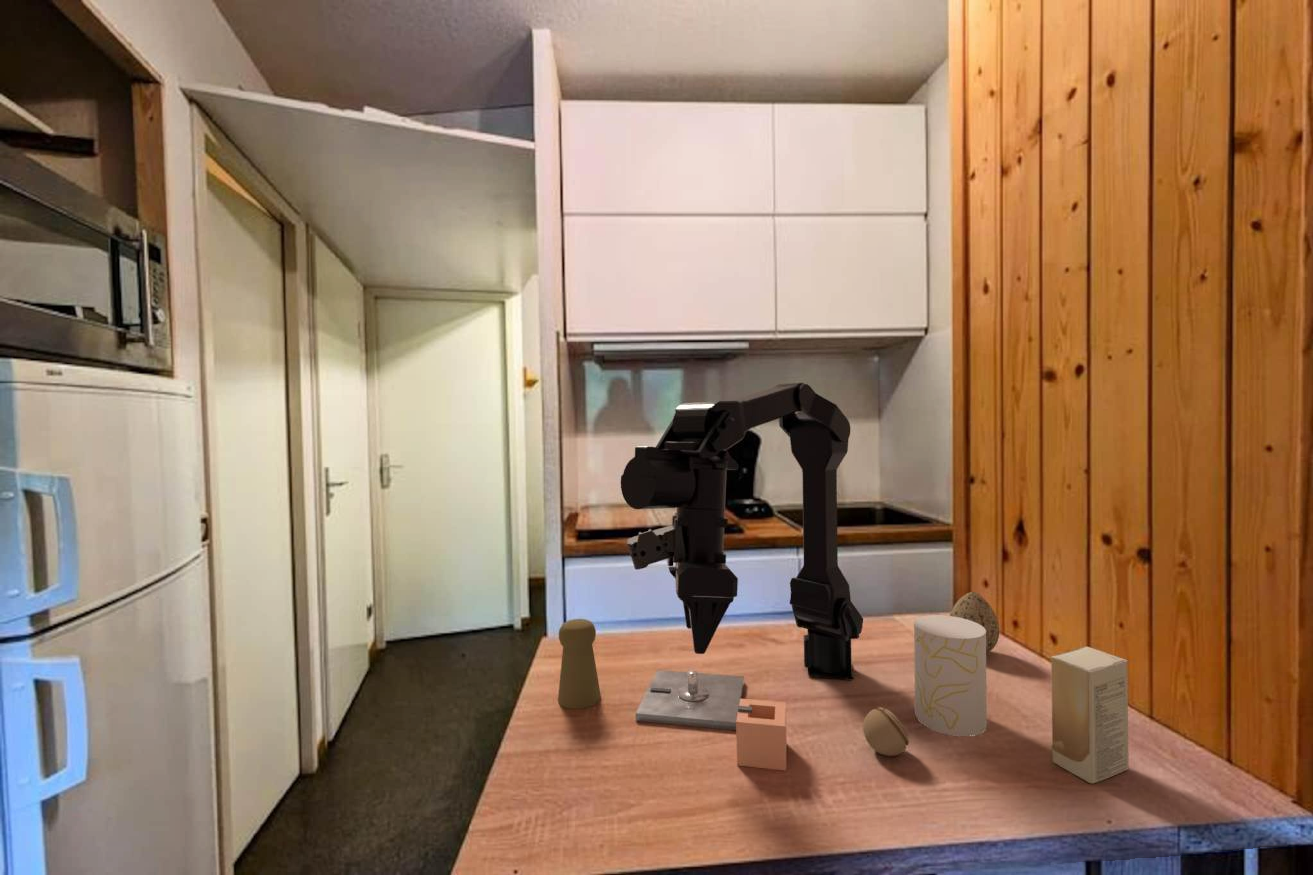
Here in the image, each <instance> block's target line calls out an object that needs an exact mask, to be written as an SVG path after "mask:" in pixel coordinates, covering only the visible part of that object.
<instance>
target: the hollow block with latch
mask: <svg viewBox="0 0 1313 875" xmlns="http://www.w3.org/2000/svg"><path fill="white" fill-rule="evenodd" d="M786 704H787V702H785V701H773V700H761V699H751V698H750V699H748V698H741V699H740V703H739V706H738V714H737V720H736V730H735V731H736V763H737V766H741V767H748V768H750V767H751V768H757V769H758V768H759V769H766V770H767V769H768V770H777V771H787V745H788V744H787V743H788V742H787V708H786V707H787V705H786Z"/></svg>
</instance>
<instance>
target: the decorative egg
mask: <svg viewBox="0 0 1313 875" xmlns="http://www.w3.org/2000/svg"><path fill="white" fill-rule="evenodd" d="M949 616H953V617H959V618H963V619H967V620H970V621H973V622H976V623H978V624H980V625H981V626H983V627H984V628H985V630H986V654H987V653H989V652H991V651H992V650H993V649H994V648H995V647H996V646H997V644H998V642H999V637H1000V626H999V621H998V617H997V615H996V613H995V611H994V610H993V608H992V606H991V605H990V604H989V602H988V601H987V600H986V599H985V598H984V597H983V596H982V595H981V594H980V593H978V592H975V591H972V592H971V591H970V592H967V593H965V594H964V595H963V596H961V597H960V598H959V599H958V600H957V602H956V603H955V604H954V605H953V607H952V609H951V611H950V615H949Z"/></svg>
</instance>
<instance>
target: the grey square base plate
mask: <svg viewBox="0 0 1313 875" xmlns="http://www.w3.org/2000/svg"><path fill="white" fill-rule="evenodd" d="M744 685H745V676H743V675H734V674H733V675H730V674H718V673H717V674H716V673H705V672H698V671H697V670H694V669H692V670H691V669H690V670H688V671H679V670H678V671H677V670H664V669H663V670H662V669H657V671H656V673H655V675H654V676H653V679H652V681H651V682H650V685H649V686H648V689H647V690H646V692H645V694H644V696H643V698H642V700H641V701H640V704H639V705H638V708H637V710H636V711H635V721H636V722H646V723H657V724H666V725H677V726H687V727H696V728H697V727H698V728H709V729H719V730H727V731H728V730H729V731H736V720H737V714H738V706H739V703H740V699H743V698H742V696H743V692H744Z"/></svg>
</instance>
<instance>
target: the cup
mask: <svg viewBox="0 0 1313 875" xmlns="http://www.w3.org/2000/svg"><path fill="white" fill-rule="evenodd" d="M913 646H914V647H913V648H914V650H913V654H914V656H913V657H914V659H913V660H914V661H913V662H914V665H913V666H914V714H915V715H916V716H915V715H914V716H915V718H916V717H917V718H918V719H919V720H920V721H919V720H918V719H917V718H916V719H917V720H918V721H919V723H921V722H922V723H923V724H925V725H926V726H928V727H929V728H928V727H927V728H928V729H930V728H931V730H932V729H934V730H933V731H935V730H936V731H935V732H937V731H939V732H938V733H940V732H942V733H941V734H943V733H945V734H944V735H947V734H949V736H952V735H955V736H954V737H960V736H970V735H971V737H973V736H972V735H977V734H980V733H982V732H983V731H985V732H986V730H987V728H986V727H988V722H987V718H988V716H987V713H988V712H987V709H988V708H987V653H986V630H985V628H984V627H983V626H981V625H980V624H978V623H976V622H973V621H970V620H967V619H963V618H959V617H953V616H950V615H942V614H941V615H940V614H932V615H931V614H929V615H923V616H918V617H917V618H915V619H914V621H913ZM922 723H921V724H922ZM923 724H922V725H923ZM925 725H924V726H925ZM926 726H925V727H926ZM985 729H986V730H985ZM983 733H984V732H983ZM983 733H982V734H983ZM957 735H958V736H957ZM980 735H981V734H980ZM977 736H978V735H977Z"/></svg>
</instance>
